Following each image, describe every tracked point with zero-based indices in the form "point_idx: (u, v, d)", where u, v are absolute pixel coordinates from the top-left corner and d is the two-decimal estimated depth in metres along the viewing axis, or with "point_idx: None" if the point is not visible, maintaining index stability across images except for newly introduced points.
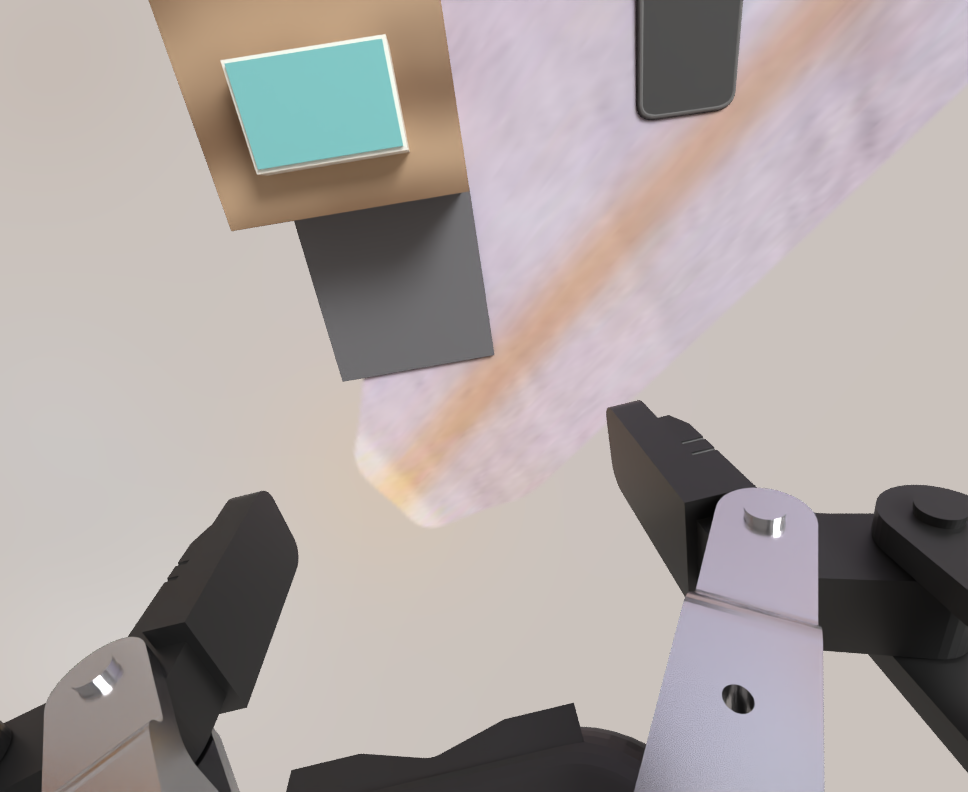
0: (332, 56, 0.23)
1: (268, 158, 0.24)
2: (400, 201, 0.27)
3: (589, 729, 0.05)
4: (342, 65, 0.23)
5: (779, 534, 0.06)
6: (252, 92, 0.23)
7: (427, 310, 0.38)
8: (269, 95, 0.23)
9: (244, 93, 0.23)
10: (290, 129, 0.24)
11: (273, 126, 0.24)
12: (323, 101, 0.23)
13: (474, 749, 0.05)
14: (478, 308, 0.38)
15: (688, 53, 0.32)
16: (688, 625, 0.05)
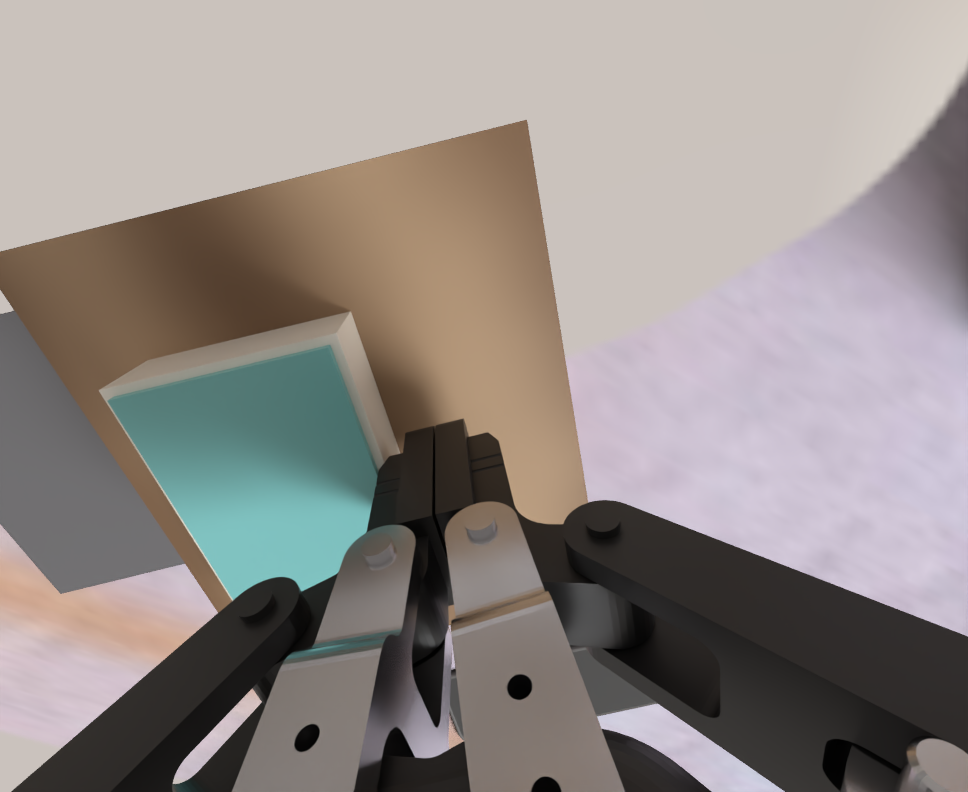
0: None
1: (144, 425, 0.10)
2: (202, 586, 0.14)
3: None
4: None
5: (480, 543, 0.07)
6: (282, 401, 0.10)
7: (97, 494, 0.21)
8: (286, 434, 0.10)
9: (275, 384, 0.10)
10: (231, 464, 0.11)
11: (225, 431, 0.10)
12: (303, 528, 0.11)
13: None
14: (134, 563, 0.23)
15: None
16: (462, 650, 0.05)
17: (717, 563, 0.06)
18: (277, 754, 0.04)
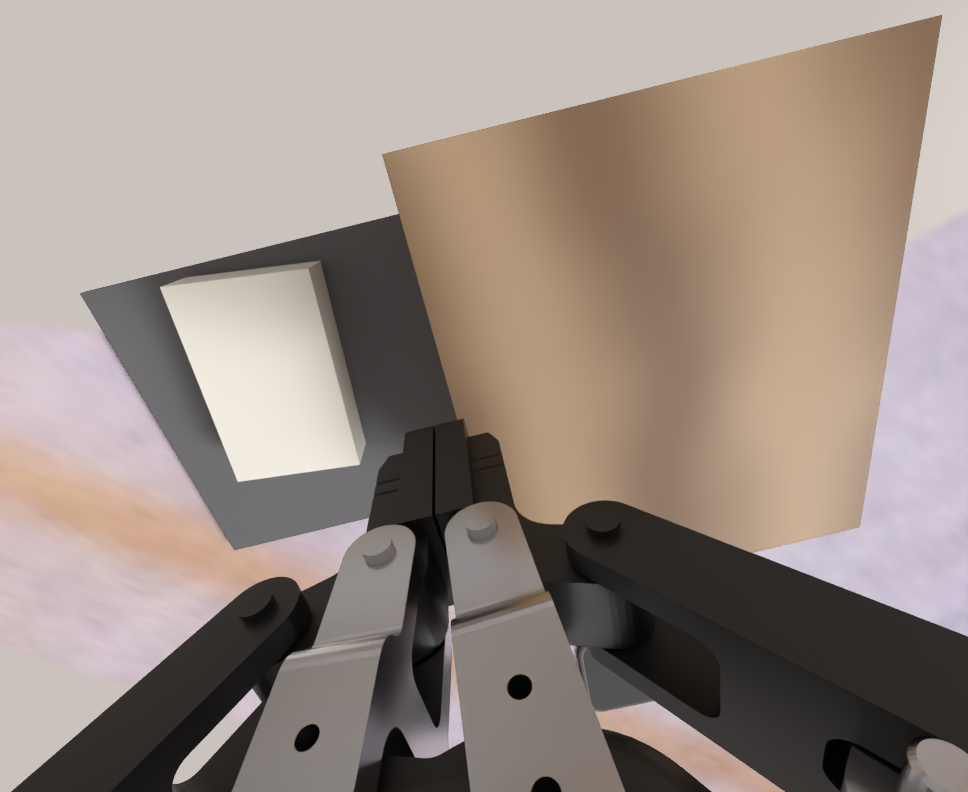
0: None
1: None
2: None
3: None
4: None
5: (480, 543, 0.07)
6: None
7: None
8: None
9: None
10: None
11: None
12: None
13: None
14: (310, 519, 0.23)
15: None
16: (462, 650, 0.05)
17: (718, 563, 0.06)
18: (277, 754, 0.04)
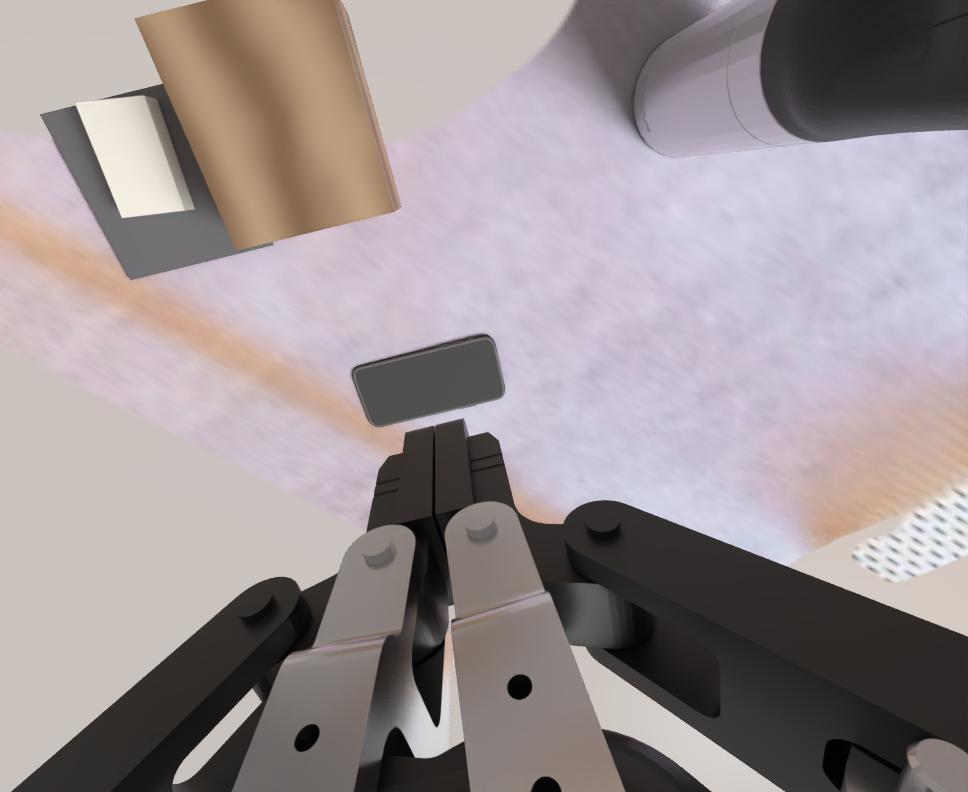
0: None
1: None
2: (211, 191, 0.33)
3: None
4: None
5: (480, 543, 0.07)
6: None
7: None
8: None
9: None
10: None
11: None
12: None
13: None
14: (171, 260, 0.41)
15: (394, 391, 0.48)
16: (462, 650, 0.05)
17: (718, 563, 0.06)
18: (277, 754, 0.04)
